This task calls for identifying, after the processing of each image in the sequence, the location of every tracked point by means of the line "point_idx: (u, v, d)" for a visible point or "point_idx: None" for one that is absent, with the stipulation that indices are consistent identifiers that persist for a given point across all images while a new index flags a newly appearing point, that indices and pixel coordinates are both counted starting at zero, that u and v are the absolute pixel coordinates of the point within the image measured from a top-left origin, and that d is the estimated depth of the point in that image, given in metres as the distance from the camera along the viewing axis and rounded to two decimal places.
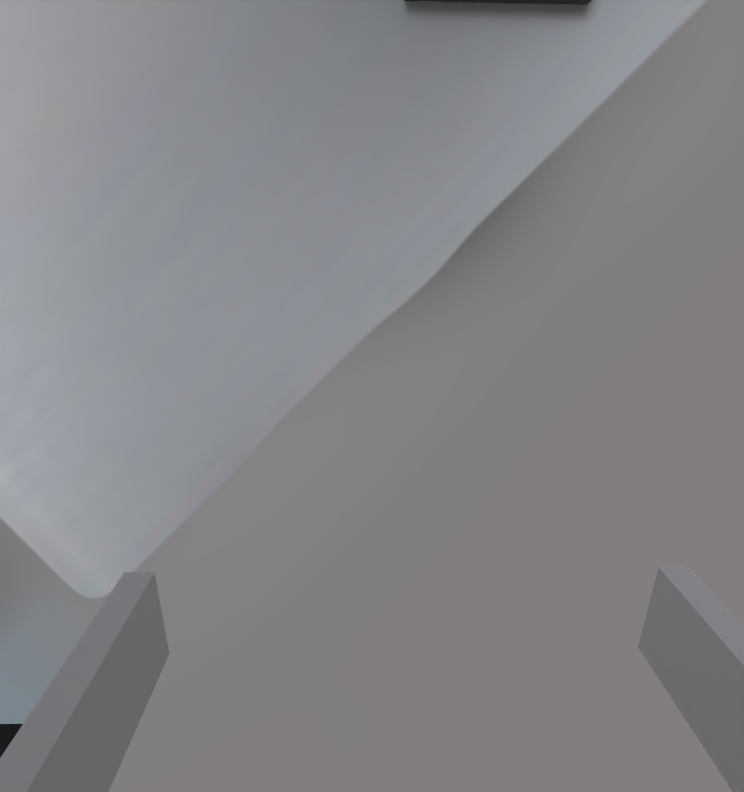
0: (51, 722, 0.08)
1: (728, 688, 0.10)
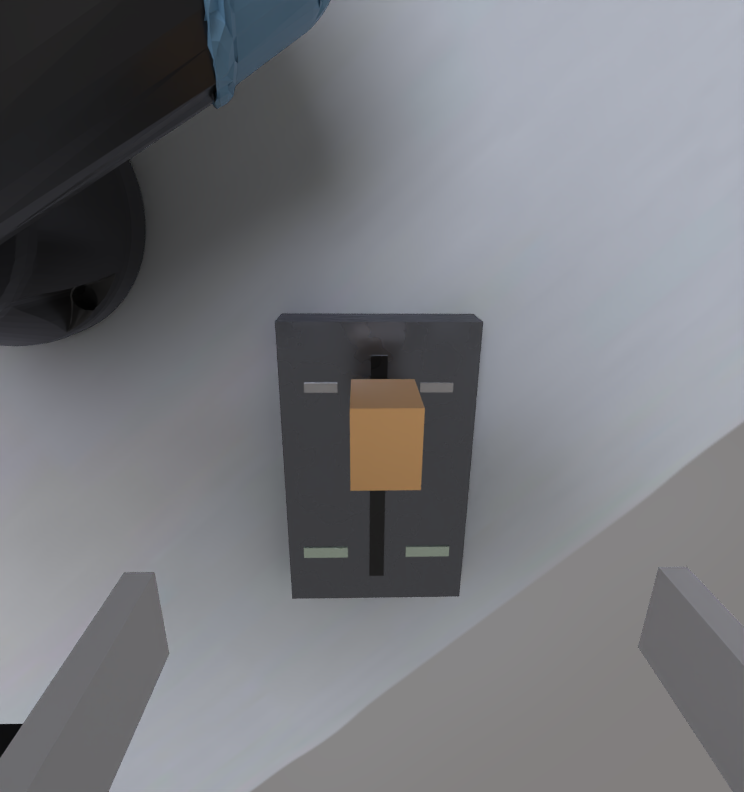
0: (51, 722, 0.08)
1: (728, 688, 0.10)
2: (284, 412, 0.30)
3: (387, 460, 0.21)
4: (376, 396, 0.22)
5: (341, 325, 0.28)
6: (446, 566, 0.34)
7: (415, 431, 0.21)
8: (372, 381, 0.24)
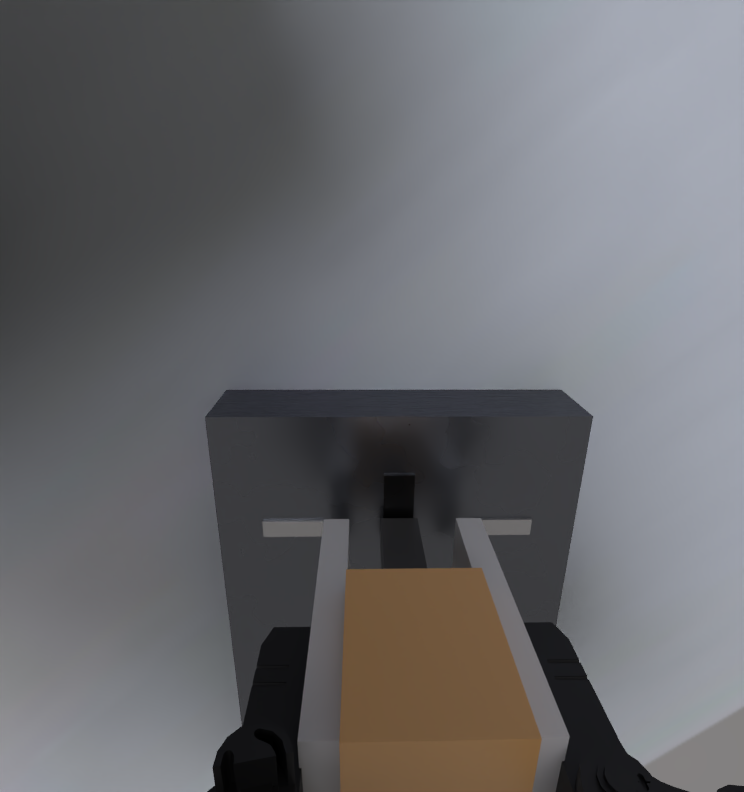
0: (333, 619, 0.11)
1: None
2: (229, 567, 0.17)
3: None
4: (406, 663, 0.09)
5: (329, 424, 0.15)
6: None
7: (512, 784, 0.08)
8: (392, 581, 0.11)
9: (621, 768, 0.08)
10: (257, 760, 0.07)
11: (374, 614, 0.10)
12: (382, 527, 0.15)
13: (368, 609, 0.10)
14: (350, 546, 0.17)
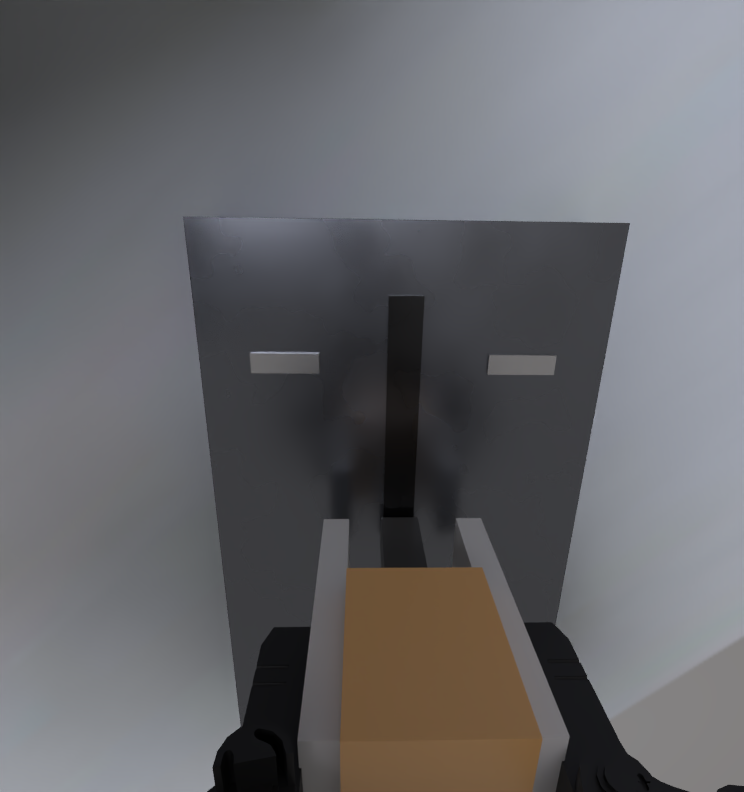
0: (333, 619, 0.11)
1: None
2: (213, 413, 0.15)
3: None
4: (407, 662, 0.09)
5: (327, 228, 0.13)
6: None
7: (512, 784, 0.08)
8: (393, 580, 0.11)
9: (621, 768, 0.08)
10: (257, 760, 0.07)
11: (375, 613, 0.10)
12: (382, 526, 0.15)
13: (369, 608, 0.10)
14: (350, 388, 0.15)
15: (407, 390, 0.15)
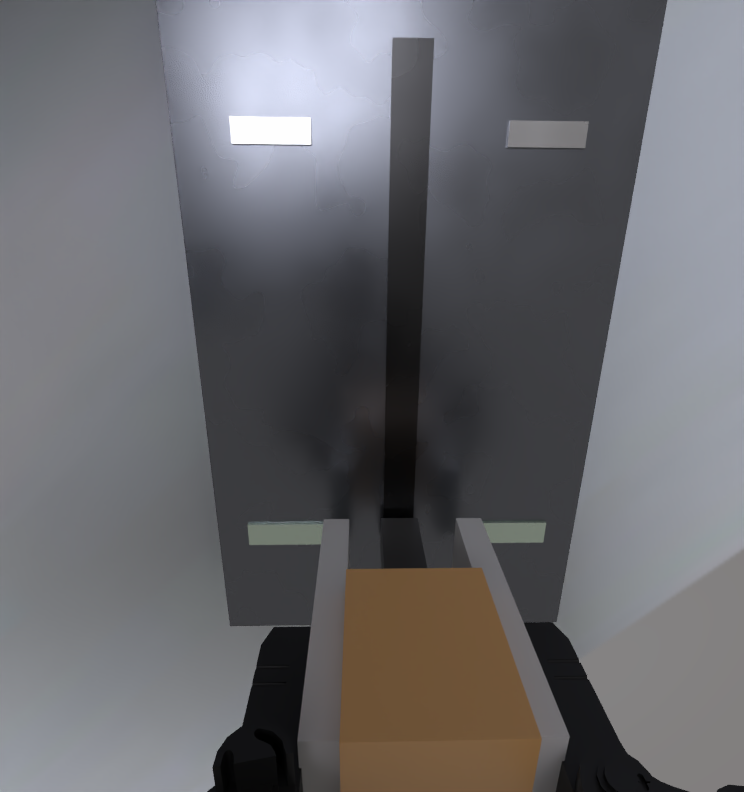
0: (333, 619, 0.11)
1: None
2: (188, 200, 0.13)
3: None
4: (406, 663, 0.09)
5: None
6: (536, 562, 0.17)
7: (511, 784, 0.08)
8: (392, 581, 0.11)
9: (621, 768, 0.08)
10: (257, 760, 0.07)
11: (374, 614, 0.10)
12: (382, 527, 0.15)
13: (368, 609, 0.10)
14: (347, 167, 0.12)
15: (413, 169, 0.13)
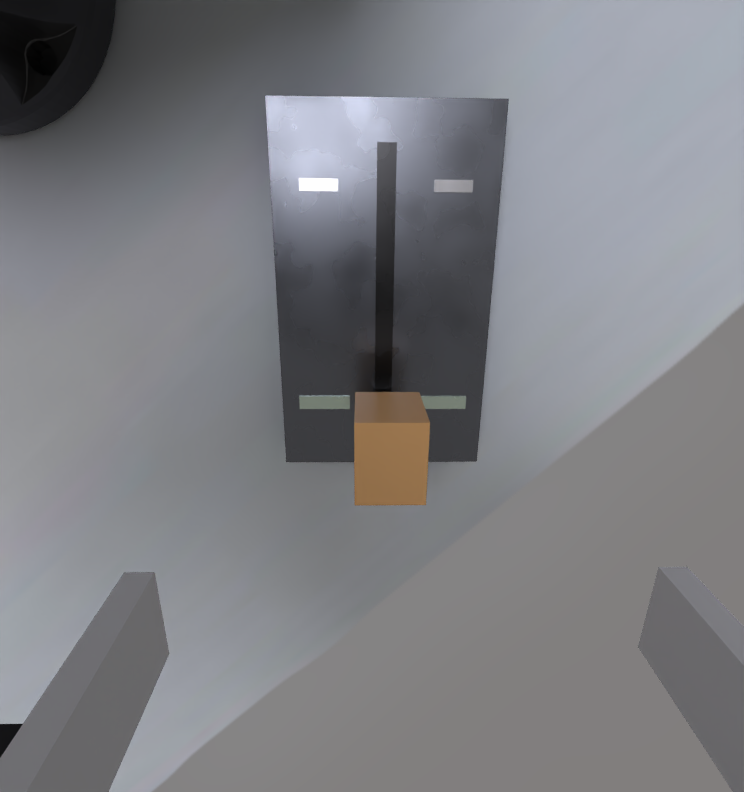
0: (51, 722, 0.08)
1: (728, 688, 0.10)
2: (276, 217, 0.25)
3: (392, 474, 0.21)
4: (380, 410, 0.22)
5: (343, 102, 0.24)
6: (462, 422, 0.30)
7: (420, 445, 0.21)
8: (376, 394, 0.24)
9: None
10: None
11: (368, 401, 0.23)
12: None
13: (365, 400, 0.23)
14: (355, 201, 0.25)
15: (388, 202, 0.25)
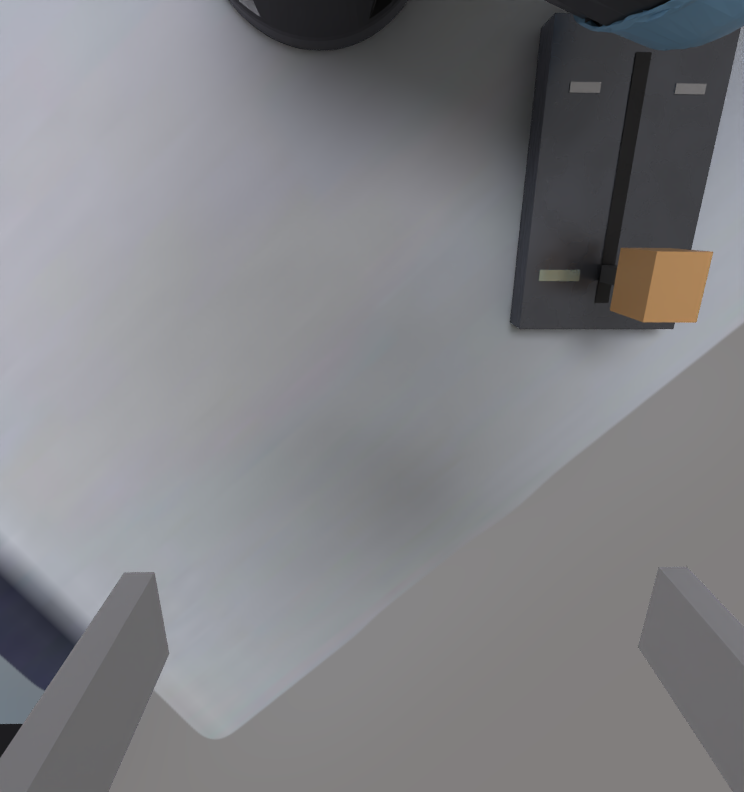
0: (51, 722, 0.08)
1: (727, 688, 0.10)
2: (547, 115, 0.32)
3: (676, 296, 0.28)
4: (662, 250, 0.28)
5: None
6: None
7: (702, 271, 0.27)
8: (640, 248, 0.30)
9: None
10: None
11: None
12: (606, 265, 0.35)
13: None
14: (611, 102, 0.32)
15: (636, 103, 0.32)
